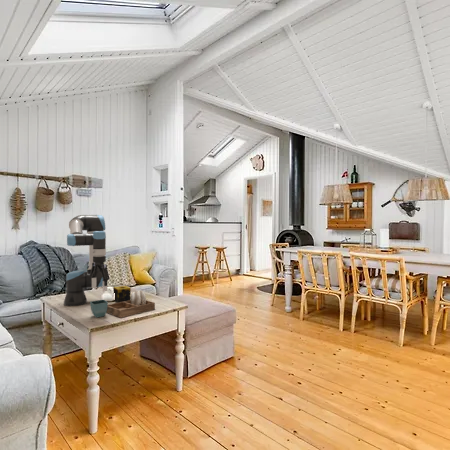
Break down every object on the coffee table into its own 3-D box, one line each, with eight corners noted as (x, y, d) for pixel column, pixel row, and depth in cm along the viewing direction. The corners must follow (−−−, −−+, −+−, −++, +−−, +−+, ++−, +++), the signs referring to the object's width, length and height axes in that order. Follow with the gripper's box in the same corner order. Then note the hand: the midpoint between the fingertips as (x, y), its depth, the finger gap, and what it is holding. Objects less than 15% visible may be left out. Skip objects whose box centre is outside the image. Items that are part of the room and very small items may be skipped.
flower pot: (93, 319, 198) (93, 304, 198) (89, 315, 206) (89, 301, 205) (108, 316, 204) (108, 302, 204) (104, 313, 211) (104, 299, 211)
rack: (105, 312, 213) (105, 293, 213) (139, 304, 233) (139, 287, 233) (120, 317, 201) (120, 298, 201) (154, 309, 221) (154, 291, 221)
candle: (112, 300, 245) (112, 287, 245) (126, 298, 252) (126, 285, 251) (117, 303, 237) (117, 289, 237) (130, 301, 243) (130, 287, 243)
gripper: (84, 254, 210) (84, 287, 210) (103, 257, 193) (104, 293, 194) (95, 253, 215) (95, 285, 216) (115, 256, 199) (115, 291, 199)
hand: (99, 289), depth 205 cm, fingers open, 13 cm apart
